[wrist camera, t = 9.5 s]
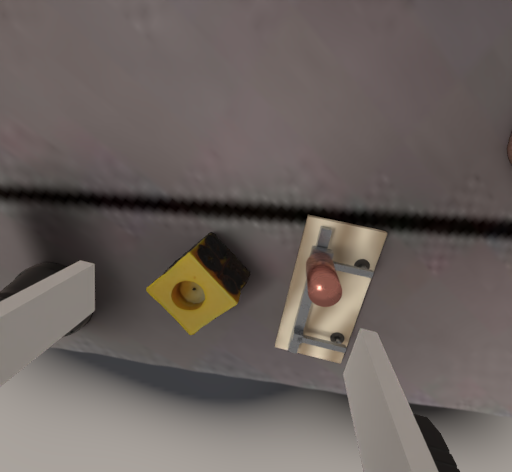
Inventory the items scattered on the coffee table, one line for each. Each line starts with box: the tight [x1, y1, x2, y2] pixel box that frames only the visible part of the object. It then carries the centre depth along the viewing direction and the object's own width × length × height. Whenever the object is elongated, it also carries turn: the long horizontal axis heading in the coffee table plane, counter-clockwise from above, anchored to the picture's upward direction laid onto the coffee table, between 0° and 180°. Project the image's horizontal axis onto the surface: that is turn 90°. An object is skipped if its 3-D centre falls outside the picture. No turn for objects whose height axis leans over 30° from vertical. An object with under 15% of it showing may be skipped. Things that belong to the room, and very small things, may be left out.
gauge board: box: [275, 215, 387, 364], centre depth 46 cm, size 12×25×1 cm, turn 169°
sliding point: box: [306, 245, 374, 307], centre depth 38 cm, size 10×4×11 cm, turn 79°
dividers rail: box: [288, 226, 347, 354], centre depth 44 cm, size 9×23×3 cm, turn 169°
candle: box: [146, 232, 250, 335], centre depth 44 cm, size 10×10×10 cm
